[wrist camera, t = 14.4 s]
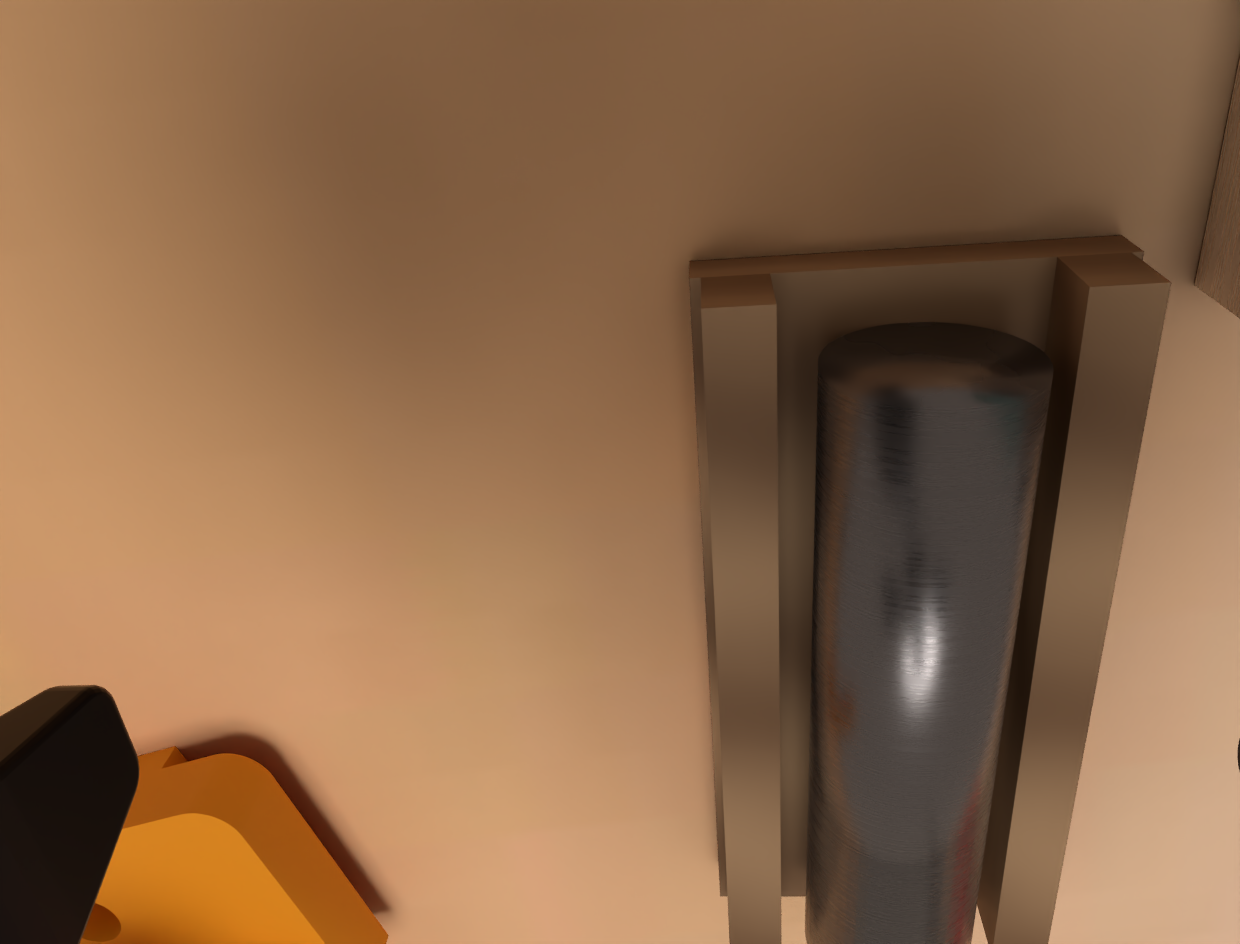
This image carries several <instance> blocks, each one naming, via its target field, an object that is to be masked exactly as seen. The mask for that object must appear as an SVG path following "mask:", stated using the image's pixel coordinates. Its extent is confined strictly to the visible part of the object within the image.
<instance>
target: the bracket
mask: <svg viewBox="0 0 1240 944" xmlns="http://www.w3.org/2000/svg"><path fill="white" fill-rule="evenodd" d="M137 757H138V761H139V781H138V786H137V790H136V793H135V796H134V798H133V801H132V804H131V806H130V809H129V812H128V815H127V817H126V820H125V823H124V825H123V828H122V831H121V834H120V836H119V839H118V842H117V844H116V847H115V850H114V852H113V855H112V858H111V861H110V863H109V866H108V869H107V871H106V874H105V877H104V880H103V882H102V885H101V888H100V890H99V893H98V896H97V899H96V901H95V904H94V907H93V909H92V912H91V915H90V918H89V920H88V923H87V926H86V928H85V931H84V934H83V936H82V939H81V941H80V944H386V942H387V939H388V934H387V933H386V931H385V930H384V929H383V927H382V926H381V924H380V923H379V922H378V920H377V919H376V917H375V916H374V915H373V913H372V912H371V911H370V909H369V908H368V906H367V905H366V904H365V902H364V901H363V900H362V898H361V897H360V895H359V894H358V893H357V891H356V890H355V889H354V887H353V886H352V884H351V883H350V882H349V880H348V879H347V878H346V876H345V875H344V873H343V872H342V871H341V869H340V868H339V867H338V865H337V864H336V862H335V861H334V860H333V858H332V857H331V856H330V854H329V853H328V851H327V850H326V849H325V847H324V846H323V844H322V843H321V842H320V840H319V839H318V838H317V836H316V835H315V833H314V832H313V831H312V829H311V828H310V827H309V825H308V824H307V822H306V821H305V820H304V818H303V817H302V816H301V814H300V813H299V811H298V810H297V809H296V807H295V806H294V805H293V803H292V802H291V800H290V799H289V798H288V796H287V795H286V794H285V792H284V791H283V789H282V788H281V787H280V785H279V784H278V783H277V781H276V780H275V778H274V777H273V776H272V774H271V773H270V772H269V771H268V770H267V769H266V768H265V767H264V766H262V765H261V764H259V763H258V762H256V761H254V760H252V759H250V758H248V757H245V756H241V755H237V754H230V753H222V754H216V755H212V756H208V757H204V758H200V759H196V760H193V761H189V762H187V760H186V759H185V758H184V756H183V755H182V754H181V752H180V751H179V750H178V749H177V747H176V746H174V747H171V748H167V749H163V750H159V751H156V752H152V753H148V754H144V755H141V756H137Z"/></svg>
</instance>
